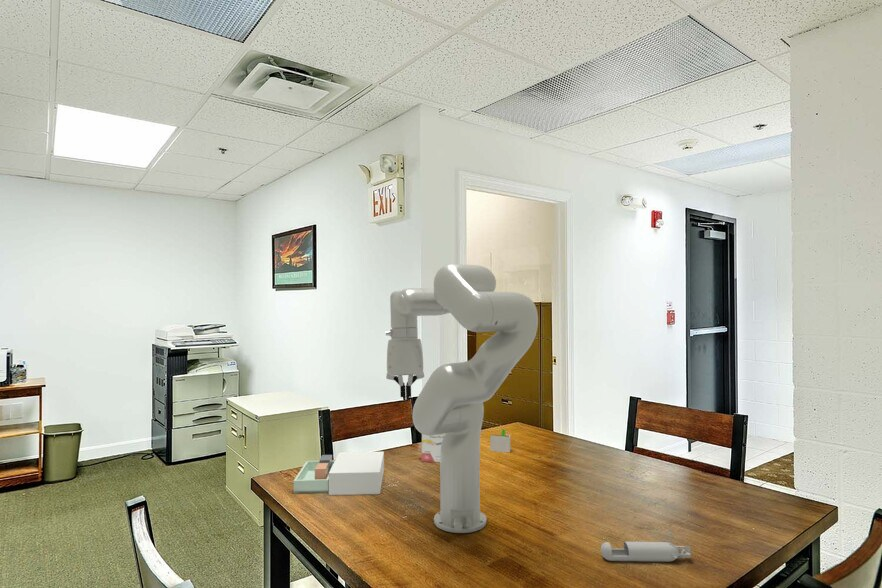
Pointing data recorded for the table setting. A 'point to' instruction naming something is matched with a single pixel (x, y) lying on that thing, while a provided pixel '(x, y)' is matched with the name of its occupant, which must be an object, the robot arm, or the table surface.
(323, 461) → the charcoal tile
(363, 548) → the table surface
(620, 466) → the table surface
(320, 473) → the terracotta tile
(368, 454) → the white box
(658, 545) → the slotted grey cylinder
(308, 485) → the green bin
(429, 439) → the ink cartridge box
